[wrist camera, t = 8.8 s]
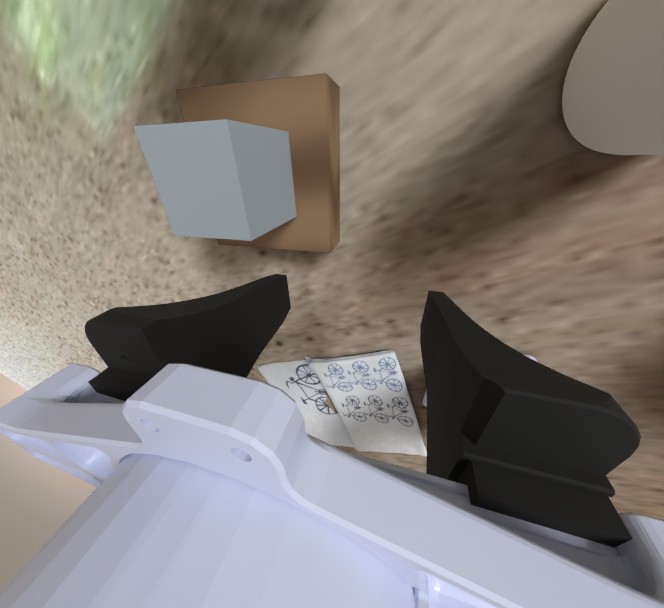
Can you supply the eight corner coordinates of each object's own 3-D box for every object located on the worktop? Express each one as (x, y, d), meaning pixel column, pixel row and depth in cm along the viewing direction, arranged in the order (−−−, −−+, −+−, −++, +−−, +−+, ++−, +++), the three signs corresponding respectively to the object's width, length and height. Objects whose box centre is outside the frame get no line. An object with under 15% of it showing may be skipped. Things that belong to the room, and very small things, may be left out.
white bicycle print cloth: (428, 446, 33) (429, 463, 31) (305, 437, 41) (300, 450, 39) (398, 342, 25) (397, 356, 23) (253, 356, 33) (244, 367, 31)
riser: (339, 241, 20) (330, 252, 18) (239, 234, 23) (218, 244, 20) (339, 86, 15) (325, 73, 13) (208, 98, 17) (175, 89, 15)
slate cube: (296, 216, 17) (251, 240, 12) (237, 214, 18) (174, 235, 13) (288, 131, 14) (226, 119, 10) (219, 135, 16) (133, 126, 11)
